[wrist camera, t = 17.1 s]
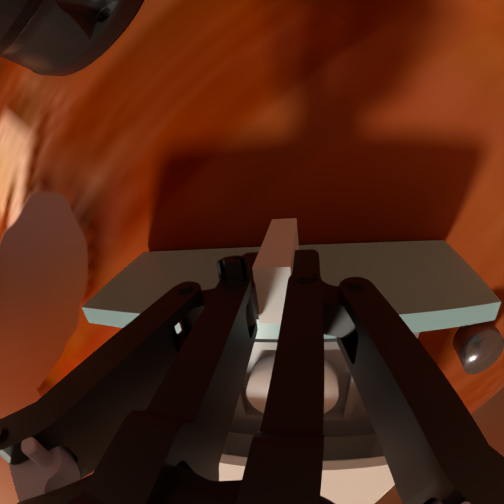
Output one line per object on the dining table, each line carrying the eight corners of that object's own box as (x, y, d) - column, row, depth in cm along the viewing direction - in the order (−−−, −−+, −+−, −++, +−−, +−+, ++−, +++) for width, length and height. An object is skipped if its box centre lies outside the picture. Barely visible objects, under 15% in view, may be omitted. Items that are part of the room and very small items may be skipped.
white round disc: (244, 349, 22) (239, 366, 21) (341, 349, 21) (342, 367, 19) (255, 402, 26) (252, 418, 24) (334, 404, 24) (334, 419, 22)
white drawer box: (192, 380, 30) (161, 449, 21) (403, 381, 24) (419, 458, 15) (224, 451, 37) (209, 499, 28) (370, 454, 32) (371, 506, 23)
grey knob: (461, 317, 20) (475, 340, 17) (496, 311, 19) (511, 331, 16) (447, 354, 22) (457, 378, 19) (481, 347, 21) (492, 368, 18)
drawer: (144, 251, 23) (81, 307, 15) (443, 240, 17) (501, 301, 10) (204, 415, 32) (184, 468, 24) (391, 418, 27) (397, 476, 19)
